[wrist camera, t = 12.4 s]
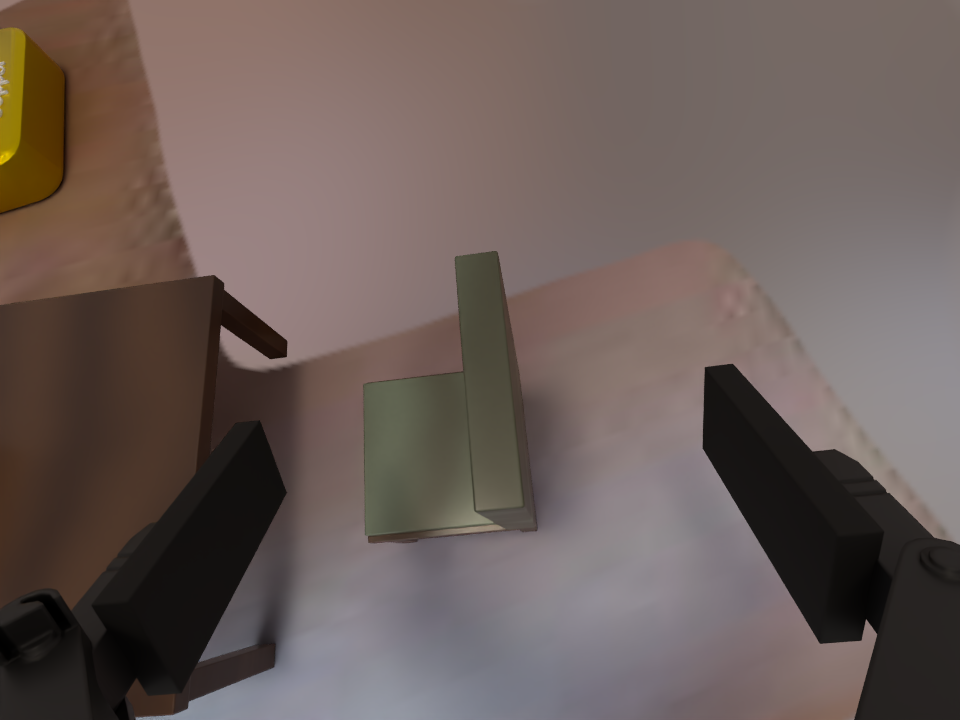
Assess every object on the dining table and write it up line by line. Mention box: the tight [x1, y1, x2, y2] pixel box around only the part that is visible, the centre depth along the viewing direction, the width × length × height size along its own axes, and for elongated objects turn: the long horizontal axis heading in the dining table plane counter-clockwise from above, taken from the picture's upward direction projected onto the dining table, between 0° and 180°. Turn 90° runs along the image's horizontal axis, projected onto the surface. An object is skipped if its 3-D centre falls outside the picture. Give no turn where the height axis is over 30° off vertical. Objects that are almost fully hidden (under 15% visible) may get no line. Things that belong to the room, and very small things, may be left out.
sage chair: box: [363, 251, 537, 543], centre depth 25 cm, size 8×8×17 cm
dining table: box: [0, 275, 287, 717], centre depth 30 cm, size 14×20×9 cm
